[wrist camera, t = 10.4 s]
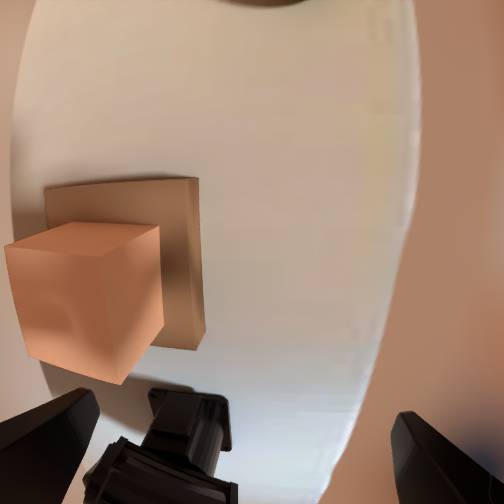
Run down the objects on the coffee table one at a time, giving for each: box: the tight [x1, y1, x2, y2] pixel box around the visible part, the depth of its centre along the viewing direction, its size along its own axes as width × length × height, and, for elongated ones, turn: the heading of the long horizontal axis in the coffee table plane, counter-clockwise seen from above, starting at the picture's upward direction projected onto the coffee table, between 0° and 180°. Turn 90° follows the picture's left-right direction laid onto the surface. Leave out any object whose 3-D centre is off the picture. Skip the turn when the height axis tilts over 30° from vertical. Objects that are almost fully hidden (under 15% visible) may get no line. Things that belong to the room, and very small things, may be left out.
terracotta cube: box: [4, 222, 164, 385], centre depth 15 cm, size 6×6×6 cm
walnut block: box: [44, 178, 206, 351], centre depth 19 cm, size 10×10×3 cm
